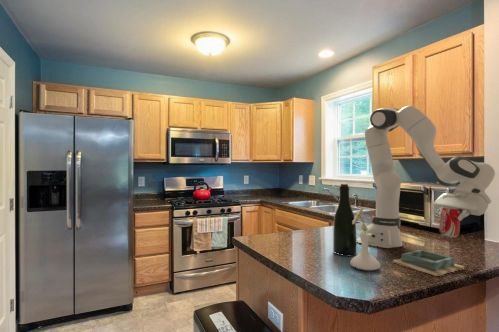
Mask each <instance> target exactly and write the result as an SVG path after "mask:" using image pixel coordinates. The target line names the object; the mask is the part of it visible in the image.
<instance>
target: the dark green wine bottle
mask: <svg viewBox="0 0 499 332" xmlns="http://www.w3.org/2000/svg"><path fill="white" fill-rule="evenodd" d="M338 190H339V201H338V206H337V209H336V211H335V214H334V218H333V241H332V242H333V243H332V244H333V245H332V247H333V249H332V250H333V253H334V252H336V253H339V254H343V255H353V256H355V255H357V252H358V251H357V248H358V246H357V244H358V243H357V222H356V223H355V224H352V223H353V222H352V221H353V220H354V219H355V218H354V217H355V216H356V215H355V213H354V211H353V209H352V206H351V203H350V202H351V201H350V187H349V183H341V184H340V186H339V189H338ZM336 253H335V254H336ZM354 254H355V255H354Z"/></svg>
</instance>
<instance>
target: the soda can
mask: <svg viewBox="0 0 499 332" xmlns="http://www.w3.org/2000/svg"><path fill="white" fill-rule="evenodd" d="M460 214H461V213H460V211H459V209H457V208H450V207H443V208H442V210H441V213H440V217H439V227H438V229H439V230H438V231H439V233H440V234H441V236H445V237H448V238H457V237H458V236H459V235H460V232H461V230H460V229H461V221H459V220H457V219H456V218H455V217H456V216H457V215H460Z"/></svg>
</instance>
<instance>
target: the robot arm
mask: <svg viewBox="0 0 499 332" xmlns="http://www.w3.org/2000/svg"><path fill="white" fill-rule="evenodd" d="M369 121H370V124H371V126H369V127H366V129H365V132H364V138H365V139H364V140H365V145H366V149H367V154H368V157H369V158H368V159H369V163H370V167H371V172H372V176H373V181H374V184H375V186H376V198H375V216H374V215H372V216H371V223H370V224H368V225H367V226H366V227H367V229H368V230H367V231H363V229H362V230H361V232H360V233H362V231H363V233H370V234H372V235H371V236H370V238H369V241H368V246H370V245H371V247H377V246H378V248H385V249H391V248H400V247H403V246H404V245H403V242H402V238H401V237H402V236H401V231H400V229H401V219H400V210H399V209H400V194H401V187H402V186H401V184H402V183H401V182H402V181H401V180H402V179H401V176H400V175H399V174H398V173H397V172H396V171H395V168H394V167H395V166H394V159H393V153H392V151H391V146H390V143H389V139H388V132H392V131H394V130H396V129H397V128H398V127H400V128H402V129H403V130H404V132H405V133H406V134H407V135H408V136H409V137H410V138H411V140H412V141H413V143H414V145H415V147H416V149H417V150H418V151H417V152H418V153H419V154H420V155H421V157H422V158H423V160H424V161H425V162H426V164H427V165H428V166H429V168H430V170H431V171H432V173H433V175H434V178H435V181H437V183H439V184H440V185H442V186H444V187H453V186H456V185H457V184H458V183H459V184H458V186H456V188H455V189H454V191H453V192H445V193H442V194H441V195H439V196H438V197H437V199H435V200H434V202H433V205H434V206H435V208H436V209H437V210H439V212H438V213H437V216H439V218H440V213H441V210H442V208H443V207H450V208H457V209H459V211H460V215H457V216H456V217H455V218H456V219H457V220H459V221H460V222H461V221H462V220H463V219H464V218H466V217H468V216H470V215H473V216H479V217H480V216H481V215H484V214H485V212H486V211H487V210H488V207H489V204H491V202H492V200H491V198H490V197H489V195H488V194H487V193H486V192H485V190H487V189H488V188H489V186H490V185H491V183H492V182H493V181H494V178H495V175H496V172H495V169H494V167H492V165H490V164H488V163H486V162H477V161H473V160H471V159H469V158H468V157H465V156H458V155H457V156H454V157H452V158H451V159H449V160H448V161H447V162H445V161H444V160H443V158H442V157H441V156H440V154H439V153H438V152H437V151H436V148H435V137H436V135H437V127H436V126H435V124H434V123H433V121H432V120H431V119H430V118H429V117H428V116H427V115H425V113H423V112H422V111H421V110H419V109H418V108H417V107H415V106H413V105H406V106H404V107H402V108H400V109H399V108H394V107H385V108H384V107H382V108H378V109H375V110H374V111H373V112H372V113H371V115H370V118H369ZM357 242H358V243H357ZM356 243H357V244H359V243H361V244H360V245H362V241H361V238H360V236H359V237H356Z"/></svg>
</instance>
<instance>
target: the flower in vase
mask: <svg viewBox="0 0 499 332" xmlns="http://www.w3.org/2000/svg"><path fill="white" fill-rule="evenodd" d="M363 211H364V207H363V206H362V207H360V208H359V210H357V212H356V215H354V216H355V217H354V218H355V219H354V220H353V221H352V222H353V223H352V224H355V223H356V224H357V222H358V220H359V219H360V220H361V222H362V225H361V229H362V230H363V231H367V230H368V229H367V226H366V225H365V222H364V220H363V218H362V213H363ZM362 230H361V232H362V233H361V232H358V235H359V237H360V238H361V241H362V244H361V251H360V252H359V253H358V254H356V255H354V256H353V257H352V258H351V259H350V263H349V264H350V265H351V266H352V267H353V268H355V267H356V268H355V269H358V270H361V269H362V270H363V271H375V270H378V269H380V267H381V262H379V260H378V259H377V258H375V257H374V256H373V255H372V254H371V253H370V252H369V245H368V241H369V238H370V236H371V235H372V234H370V233H363V231H362Z"/></svg>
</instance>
